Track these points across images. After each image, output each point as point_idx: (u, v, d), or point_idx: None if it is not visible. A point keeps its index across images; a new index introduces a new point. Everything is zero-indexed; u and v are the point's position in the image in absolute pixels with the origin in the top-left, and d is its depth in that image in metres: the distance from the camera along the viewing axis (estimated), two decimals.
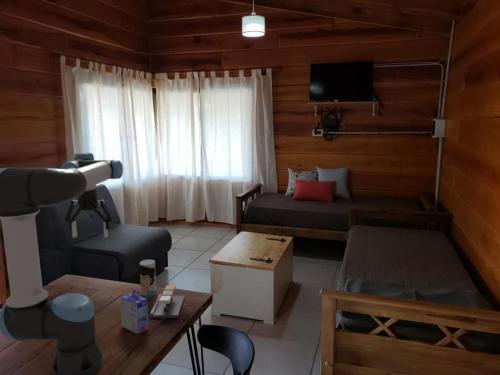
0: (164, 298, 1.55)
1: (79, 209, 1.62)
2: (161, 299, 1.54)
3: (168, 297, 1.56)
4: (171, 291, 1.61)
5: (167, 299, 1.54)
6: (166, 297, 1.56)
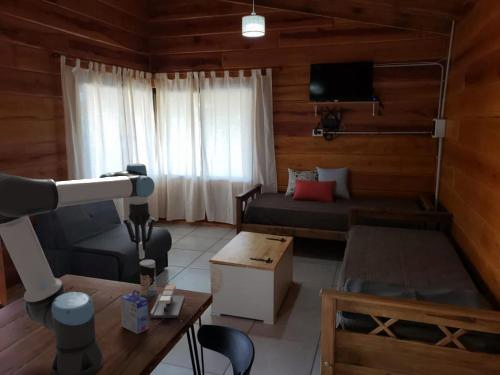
0: (164, 298, 1.55)
1: (135, 225, 1.53)
2: (161, 299, 1.54)
3: (168, 297, 1.56)
4: (171, 291, 1.61)
5: (167, 299, 1.54)
6: (166, 297, 1.56)
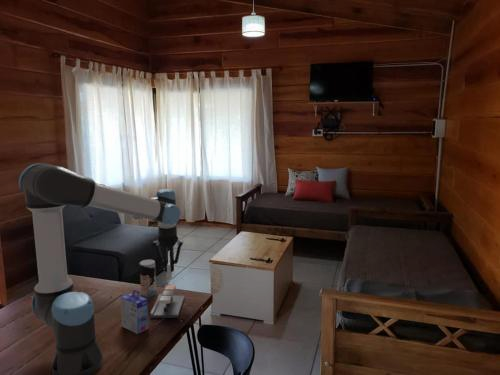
0: (164, 298, 1.55)
1: (164, 248, 1.60)
2: (161, 299, 1.54)
3: (168, 297, 1.56)
4: (171, 291, 1.61)
5: (167, 299, 1.54)
6: (166, 297, 1.56)
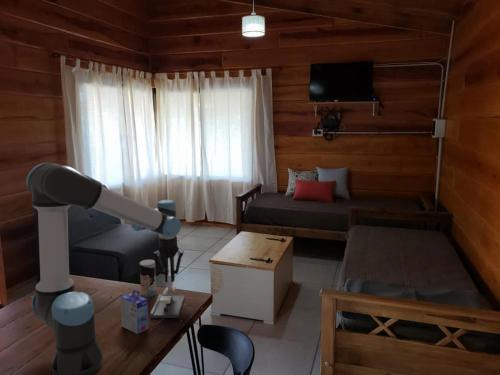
0: (164, 298, 1.55)
1: (165, 258, 1.61)
2: (161, 299, 1.54)
3: (168, 297, 1.56)
4: (171, 291, 1.61)
5: (167, 299, 1.54)
6: (166, 297, 1.56)
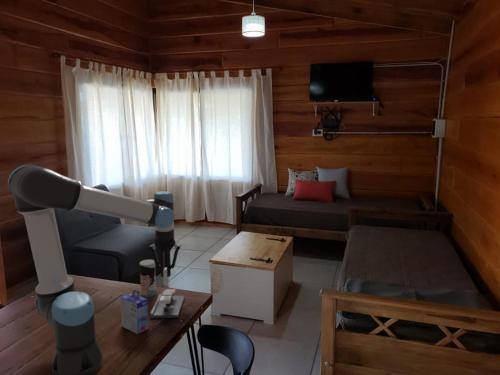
0: (164, 298, 1.55)
1: (161, 252, 1.55)
2: (161, 299, 1.54)
3: (168, 297, 1.56)
4: (171, 291, 1.61)
5: (167, 299, 1.54)
6: (166, 297, 1.56)
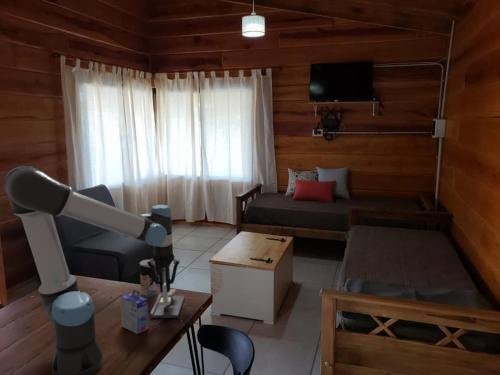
0: None
1: (159, 267, 1.51)
2: (161, 301, 1.54)
3: (168, 299, 1.56)
4: (171, 291, 1.61)
5: (167, 301, 1.54)
6: None
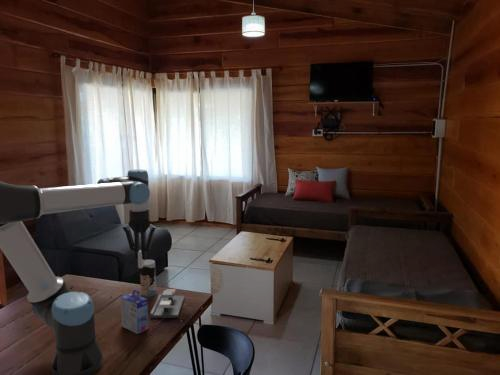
0: (164, 302, 1.55)
1: (135, 233, 1.48)
2: (161, 303, 1.54)
3: (168, 301, 1.56)
4: (171, 291, 1.61)
5: (167, 303, 1.54)
6: (166, 301, 1.56)
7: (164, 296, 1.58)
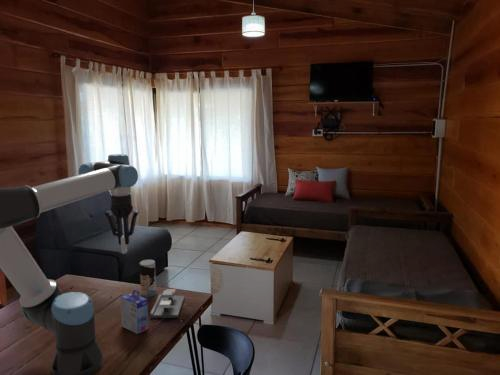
0: (164, 302, 1.55)
1: (117, 218, 1.48)
2: (161, 303, 1.54)
3: (168, 301, 1.56)
4: (171, 291, 1.61)
5: (167, 303, 1.54)
6: (166, 301, 1.56)
7: (164, 296, 1.58)
